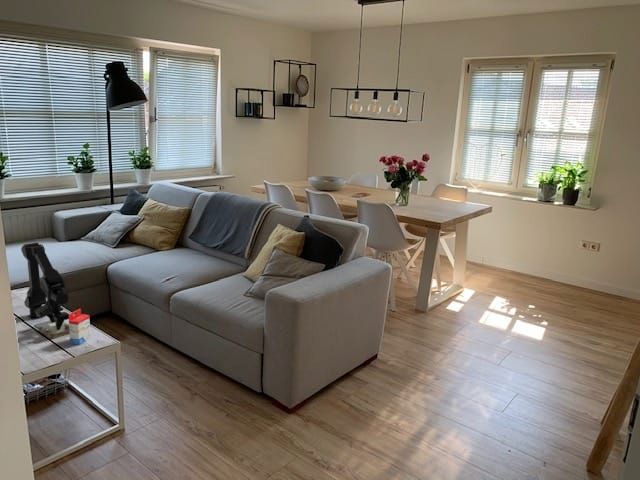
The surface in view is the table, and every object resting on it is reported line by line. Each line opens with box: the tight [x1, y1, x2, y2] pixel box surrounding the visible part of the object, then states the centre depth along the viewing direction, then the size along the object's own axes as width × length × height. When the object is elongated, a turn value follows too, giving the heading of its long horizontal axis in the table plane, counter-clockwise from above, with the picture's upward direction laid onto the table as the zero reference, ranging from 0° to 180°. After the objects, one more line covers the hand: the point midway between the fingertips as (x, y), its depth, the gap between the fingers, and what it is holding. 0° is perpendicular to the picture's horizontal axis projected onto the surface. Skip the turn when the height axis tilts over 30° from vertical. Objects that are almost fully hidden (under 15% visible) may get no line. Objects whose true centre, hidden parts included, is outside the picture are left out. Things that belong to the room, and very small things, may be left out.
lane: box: [38, 321, 70, 340], centre depth 240 cm, size 13×11×2 cm
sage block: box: [47, 322, 66, 334], centre depth 241 cm, size 4×6×4 cm, turn 142°
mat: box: [34, 320, 51, 330], centre depth 247 cm, size 8×10×1 cm
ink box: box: [68, 308, 91, 346], centre depth 231 cm, size 8×5×15 cm, turn 168°
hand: (56, 328), depth 241 cm, fingers closed on sage block, 4 cm apart
